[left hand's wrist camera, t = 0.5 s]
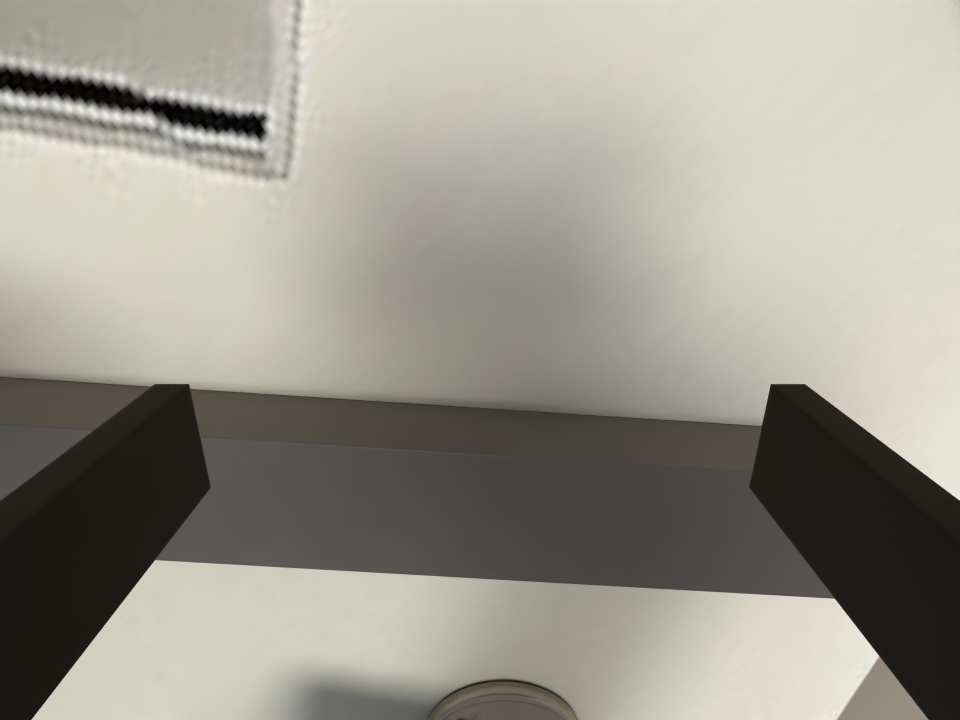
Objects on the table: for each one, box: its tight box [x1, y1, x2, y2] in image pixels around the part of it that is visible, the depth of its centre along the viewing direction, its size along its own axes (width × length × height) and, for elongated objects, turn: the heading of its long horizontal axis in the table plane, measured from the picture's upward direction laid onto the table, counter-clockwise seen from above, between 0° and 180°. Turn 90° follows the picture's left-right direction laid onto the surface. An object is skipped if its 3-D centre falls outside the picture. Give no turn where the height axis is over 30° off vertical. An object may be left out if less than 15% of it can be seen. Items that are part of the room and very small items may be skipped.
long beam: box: [0, 377, 835, 599], centre depth 40 cm, size 77×10×6 cm, turn 86°
